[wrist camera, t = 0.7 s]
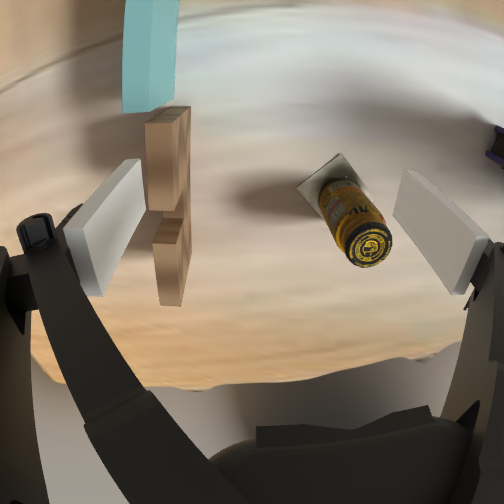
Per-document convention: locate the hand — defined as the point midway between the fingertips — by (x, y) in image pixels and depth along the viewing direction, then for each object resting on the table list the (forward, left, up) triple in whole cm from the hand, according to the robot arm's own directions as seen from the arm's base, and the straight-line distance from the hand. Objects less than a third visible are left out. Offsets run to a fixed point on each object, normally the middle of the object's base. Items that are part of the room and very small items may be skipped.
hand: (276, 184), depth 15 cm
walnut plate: (+9, -9, -23) cm, 26 cm away
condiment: (+9, +11, -24) cm, 28 cm away
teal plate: (-12, -11, -23) cm, 28 cm away
